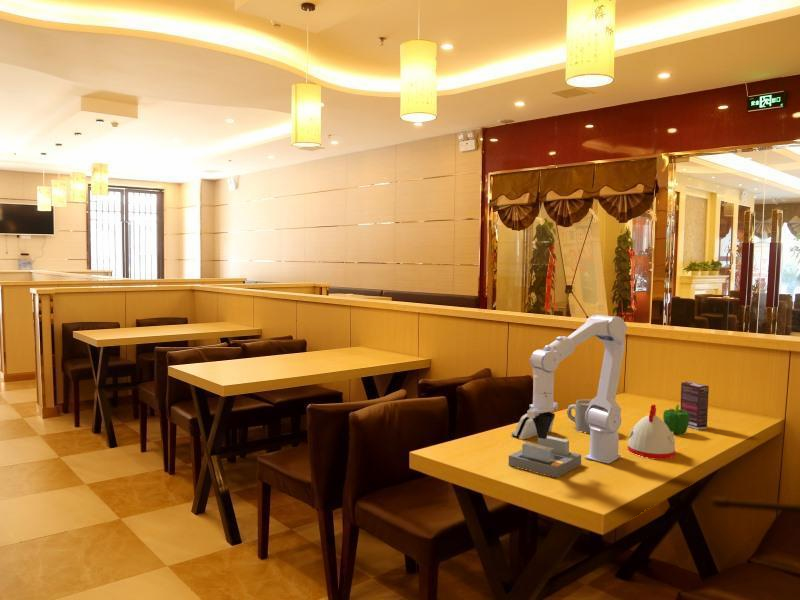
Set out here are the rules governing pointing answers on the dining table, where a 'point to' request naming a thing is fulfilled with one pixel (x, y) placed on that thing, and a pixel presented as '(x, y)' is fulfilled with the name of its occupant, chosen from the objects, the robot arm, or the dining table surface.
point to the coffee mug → (580, 415)
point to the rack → (562, 458)
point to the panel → (538, 453)
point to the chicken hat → (652, 438)
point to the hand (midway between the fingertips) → (542, 437)
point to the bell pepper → (676, 420)
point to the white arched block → (527, 428)
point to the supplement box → (695, 404)
